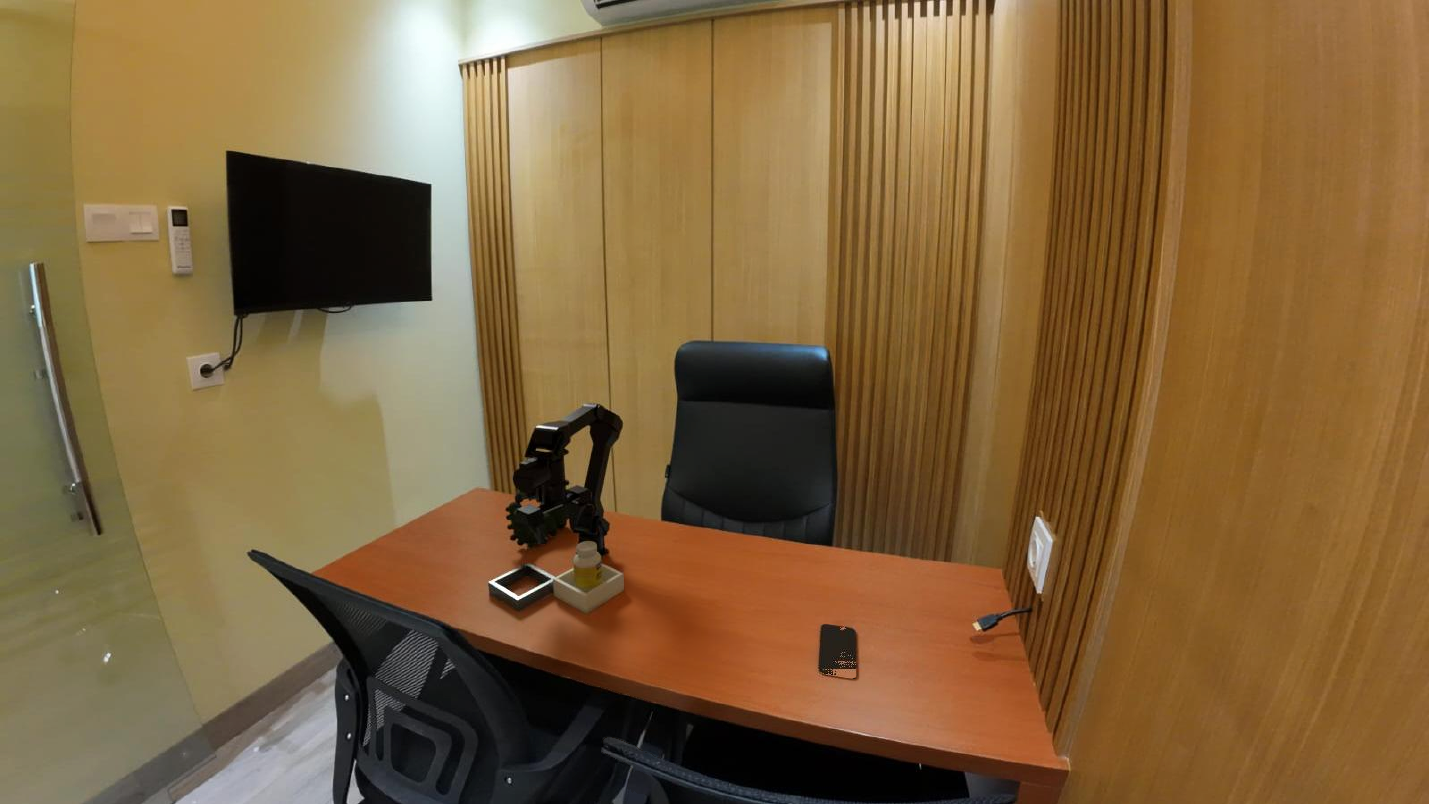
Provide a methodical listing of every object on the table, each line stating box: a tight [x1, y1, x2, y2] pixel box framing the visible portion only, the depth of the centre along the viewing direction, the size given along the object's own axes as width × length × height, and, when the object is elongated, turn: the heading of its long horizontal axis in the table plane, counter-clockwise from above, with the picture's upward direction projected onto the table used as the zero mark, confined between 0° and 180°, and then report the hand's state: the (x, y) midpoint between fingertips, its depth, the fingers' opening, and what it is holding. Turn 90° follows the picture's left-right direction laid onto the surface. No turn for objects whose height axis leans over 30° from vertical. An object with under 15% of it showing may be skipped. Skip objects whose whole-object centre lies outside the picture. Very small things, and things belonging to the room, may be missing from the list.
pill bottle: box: [572, 541, 603, 593], centre depth 127 cm, size 6×6×12 cm
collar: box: [487, 562, 556, 612], centre depth 128 cm, size 11×12×3 cm
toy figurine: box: [505, 490, 569, 549], centre depth 153 cm, size 9×19×25 cm
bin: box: [553, 563, 625, 615], centre depth 128 cm, size 12×12×4 cm
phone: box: [817, 623, 858, 675], centre depth 109 cm, size 7×1×15 cm
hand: (557, 537), depth 130 cm, fingers open, 9 cm apart
